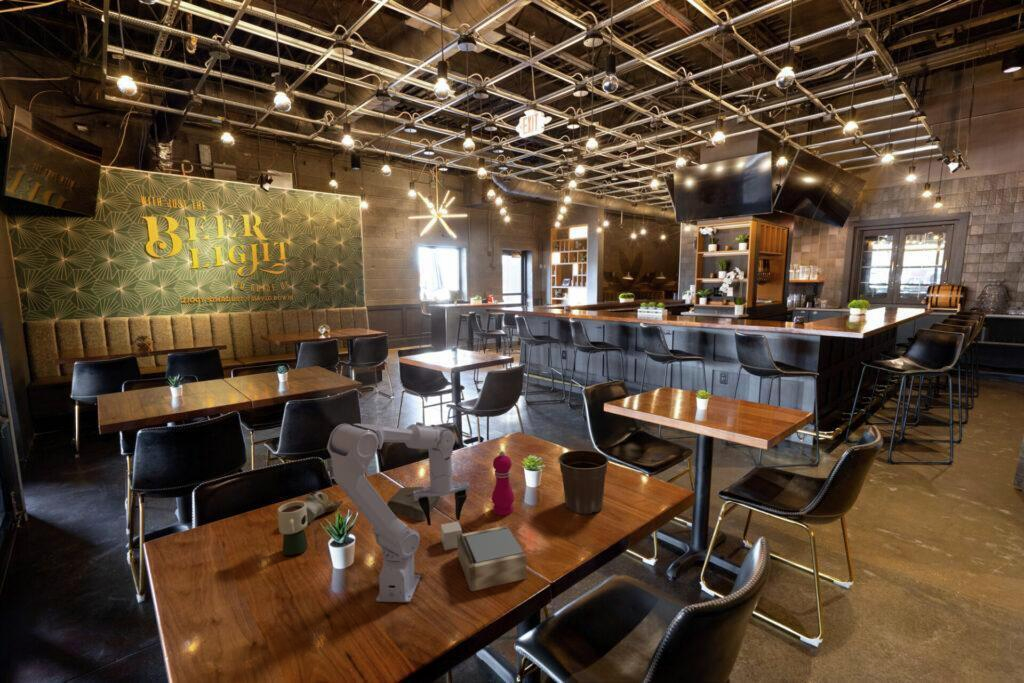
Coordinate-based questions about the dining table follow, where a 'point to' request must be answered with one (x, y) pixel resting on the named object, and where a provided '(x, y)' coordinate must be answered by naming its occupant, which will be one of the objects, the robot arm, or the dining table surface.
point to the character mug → (293, 527)
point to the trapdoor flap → (493, 545)
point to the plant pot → (583, 480)
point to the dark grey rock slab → (410, 504)
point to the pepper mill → (502, 486)
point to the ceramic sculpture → (319, 505)
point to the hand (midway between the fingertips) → (443, 520)
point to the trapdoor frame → (489, 565)
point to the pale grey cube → (450, 534)
